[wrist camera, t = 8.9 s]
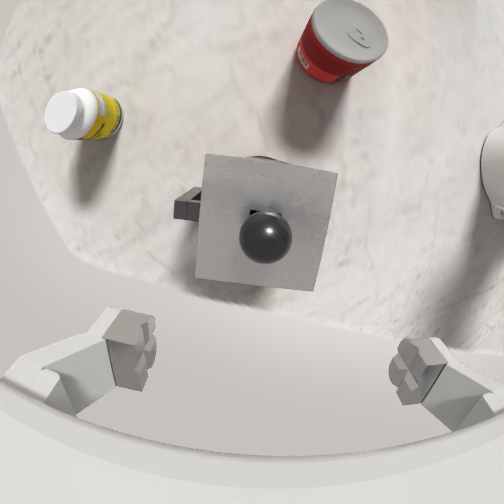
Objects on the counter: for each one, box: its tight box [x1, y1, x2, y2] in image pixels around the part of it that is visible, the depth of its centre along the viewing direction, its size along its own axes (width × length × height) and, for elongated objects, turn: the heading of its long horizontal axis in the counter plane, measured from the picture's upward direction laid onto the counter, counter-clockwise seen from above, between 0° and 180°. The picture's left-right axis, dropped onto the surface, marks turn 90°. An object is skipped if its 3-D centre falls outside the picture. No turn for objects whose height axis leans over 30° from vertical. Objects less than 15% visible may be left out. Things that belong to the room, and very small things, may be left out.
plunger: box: [239, 210, 292, 264], centre depth 26 cm, size 7×7×17 cm
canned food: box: [297, 0, 388, 83], centre depth 24 cm, size 8×8×11 cm
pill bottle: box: [44, 88, 123, 140], centre depth 27 cm, size 6×6×11 cm
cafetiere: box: [174, 154, 338, 291], centre depth 29 cm, size 13×10×15 cm
